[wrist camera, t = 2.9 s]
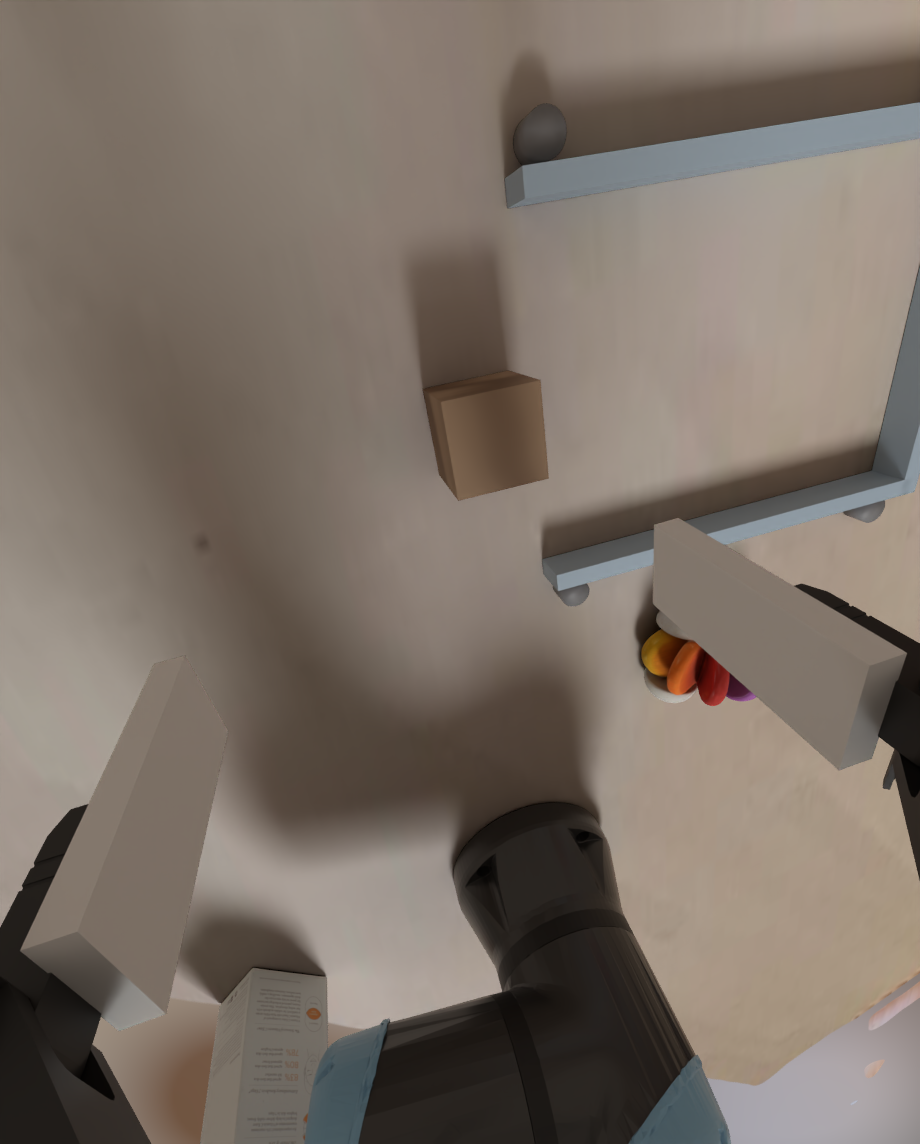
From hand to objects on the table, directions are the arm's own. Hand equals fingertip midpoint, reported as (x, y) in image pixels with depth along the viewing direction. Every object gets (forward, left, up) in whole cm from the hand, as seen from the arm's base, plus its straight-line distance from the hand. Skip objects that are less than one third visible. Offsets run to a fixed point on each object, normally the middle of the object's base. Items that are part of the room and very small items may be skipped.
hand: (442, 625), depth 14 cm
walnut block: (+6, +1, -18) cm, 19 cm away
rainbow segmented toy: (+21, -19, -18) cm, 34 cm away
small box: (-22, -48, -18) cm, 56 cm away
